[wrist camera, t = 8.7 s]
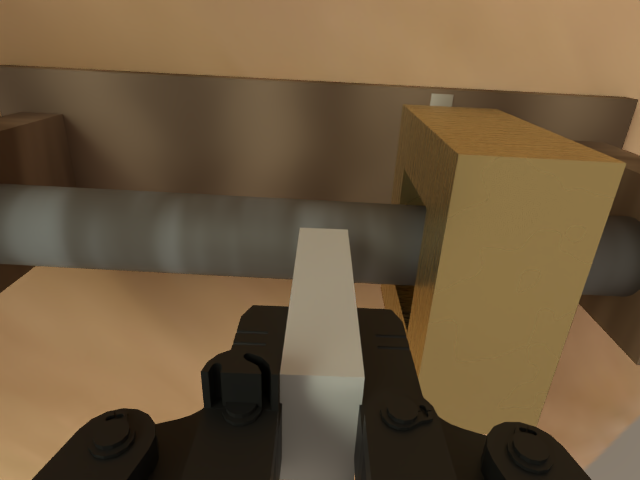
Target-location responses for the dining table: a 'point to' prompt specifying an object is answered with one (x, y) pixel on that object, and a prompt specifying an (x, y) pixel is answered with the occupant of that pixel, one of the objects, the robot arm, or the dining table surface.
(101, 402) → the dining table surface
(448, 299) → the collar
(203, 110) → the pipe rig
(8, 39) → the dining table surface
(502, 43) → the dining table surface
